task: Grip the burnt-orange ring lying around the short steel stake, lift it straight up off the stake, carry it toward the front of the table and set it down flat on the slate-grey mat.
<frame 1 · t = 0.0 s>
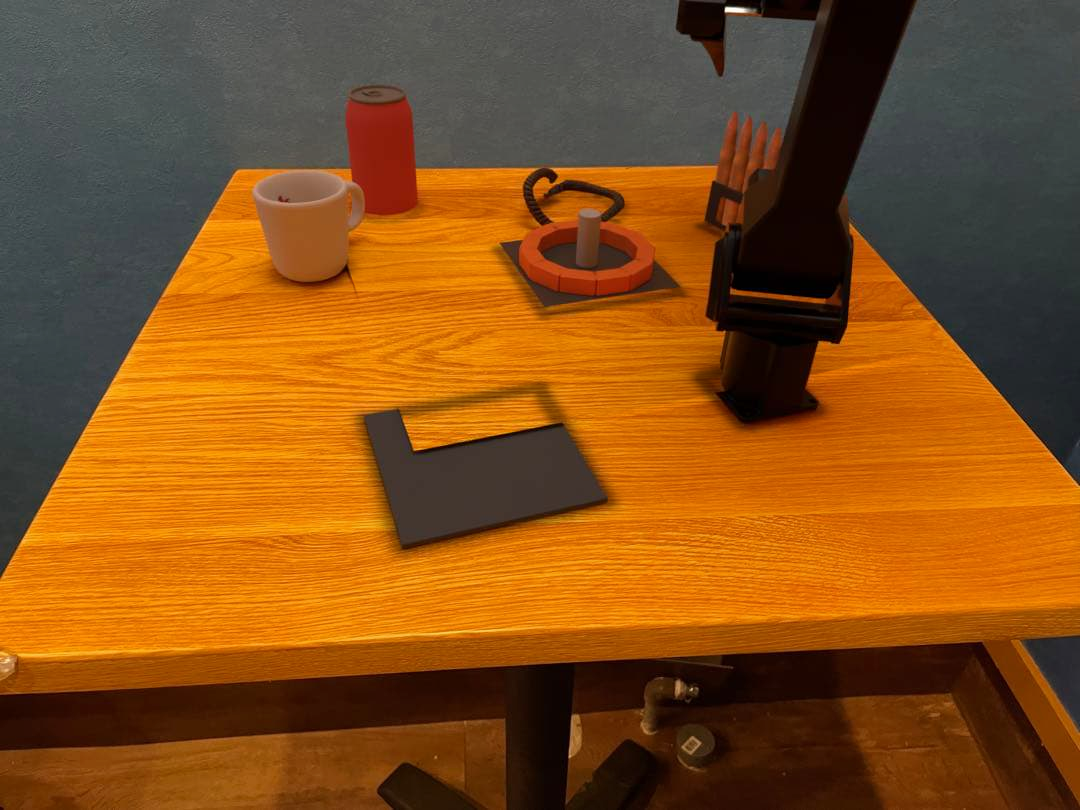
hand: (769, 76, 77), 15 cm above the table, tool tilted 35°, fingers open, 9 cm apart
curled ridged horns: (568, 217, 87), on the table
mat: (479, 458, 54), on the table
ammunition clip: (747, 245, 83), on the table
stake: (585, 271, 76), on the table
beer can: (387, 210, 87), on the table
cup: (324, 266, 76), on the table
ring: (586, 263, 76), point 1 cm above the table, touching stake
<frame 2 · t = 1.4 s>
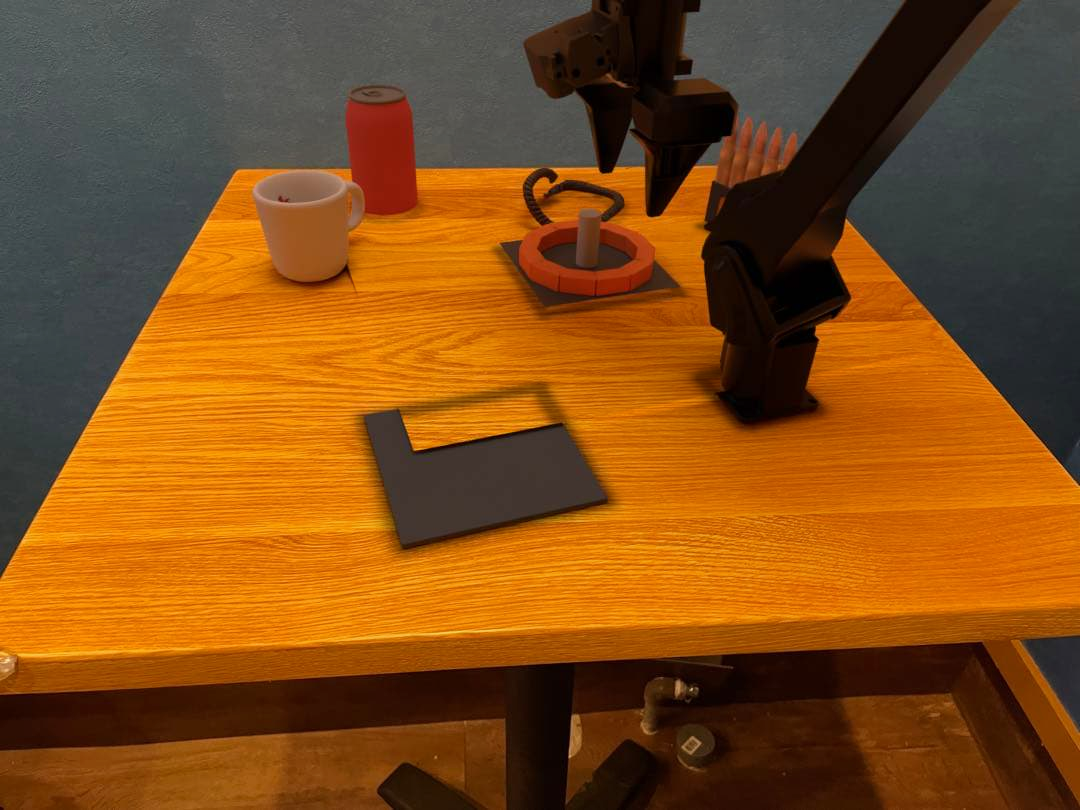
hand: (628, 193, 65), 10 cm above the table, tool pointing down, fingers open, 9 cm apart
nothing on the table moved.
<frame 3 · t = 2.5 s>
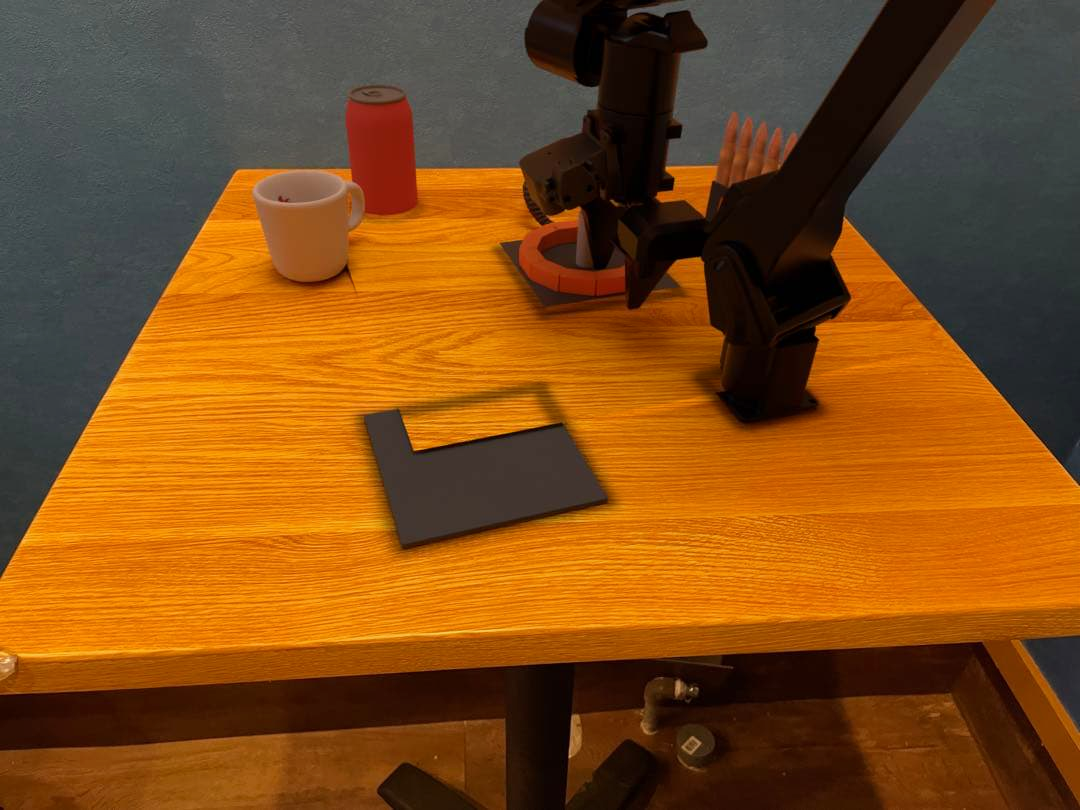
hand: (615, 288, 70), 2 cm above the table, tool pointing down, fingers open, 7 cm apart
nothing on the table moved.
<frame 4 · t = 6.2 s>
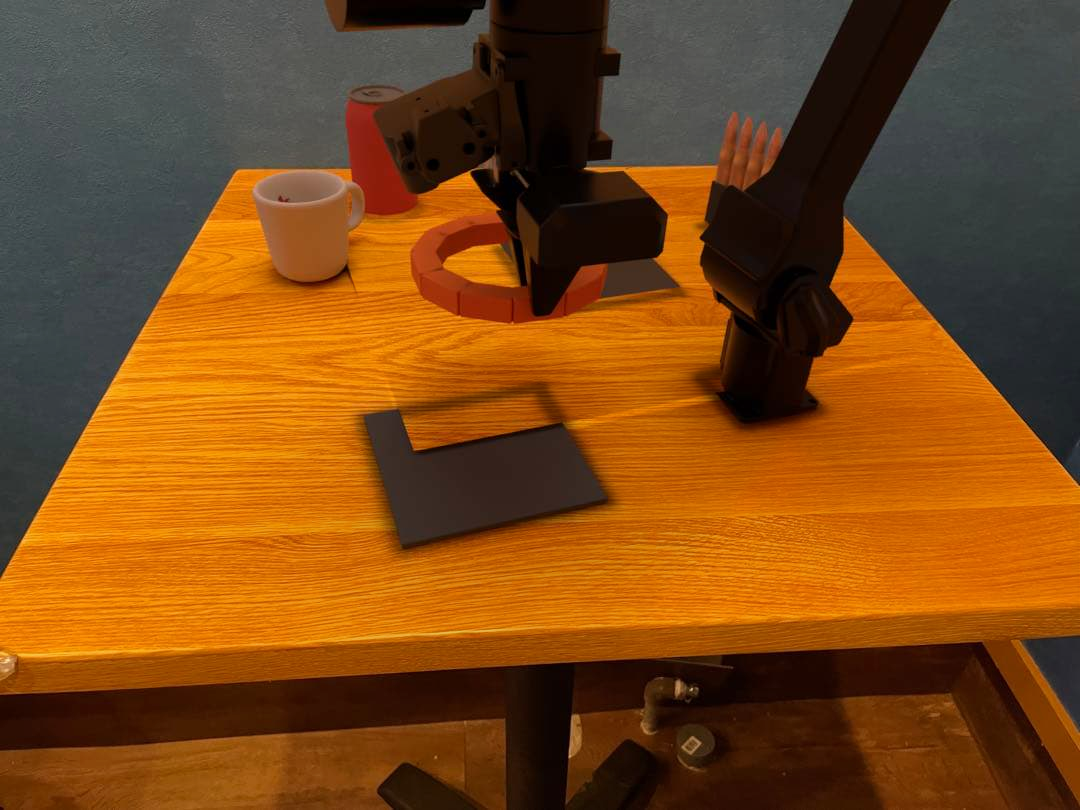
hand: (536, 306, 48), 11 cm above the table, tool pointing down, fingers closed on ring
ring: (509, 274, 53), point 11 cm above the table, touching gripper
everything else where it was.
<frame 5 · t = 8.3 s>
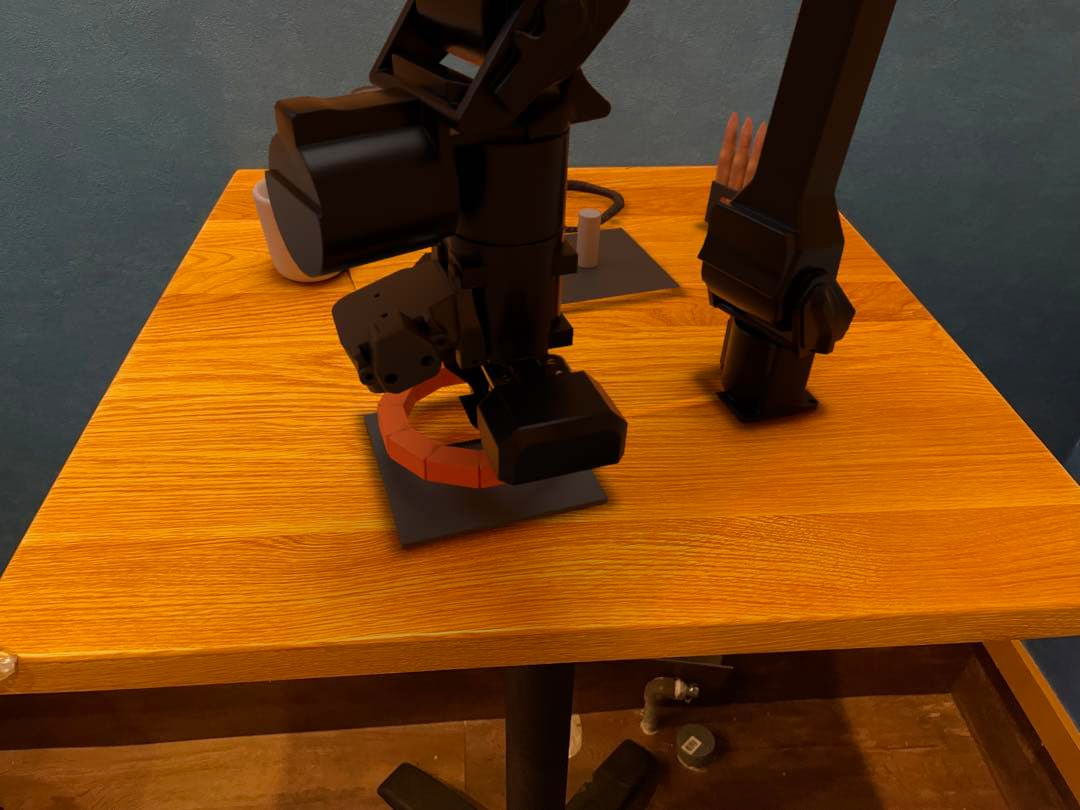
hand: (504, 468, 48), 4 cm above the table, tool pointing down, fingers closed on ring, 2 cm apart
ring: (478, 422, 53), point 3 cm above the table, touching gripper
everything else where it was.
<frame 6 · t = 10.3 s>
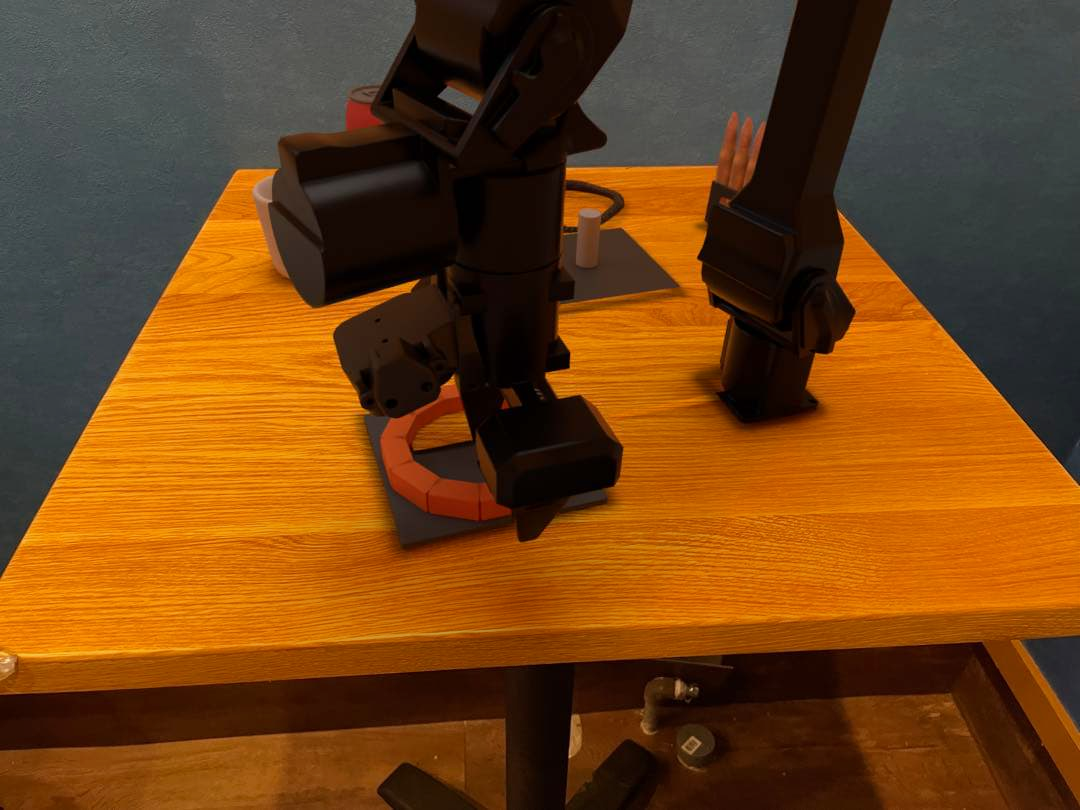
hand: (502, 486, 49), 2 cm above the table, tool pointing down, fingers open, 9 cm apart
ring: (478, 454, 54), resting on mat
everything else where it was.
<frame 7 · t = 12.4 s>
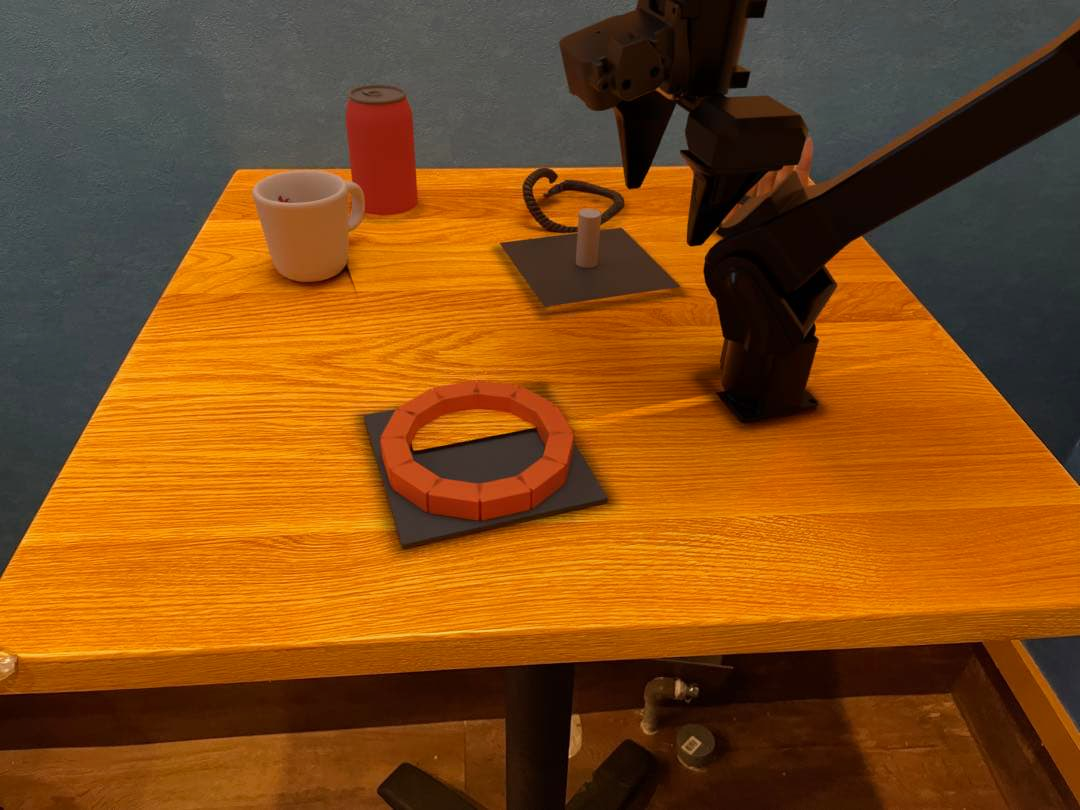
hand: (661, 214, 58), 12 cm above the table, tool pointing down, fingers open, 9 cm apart
nothing on the table moved.
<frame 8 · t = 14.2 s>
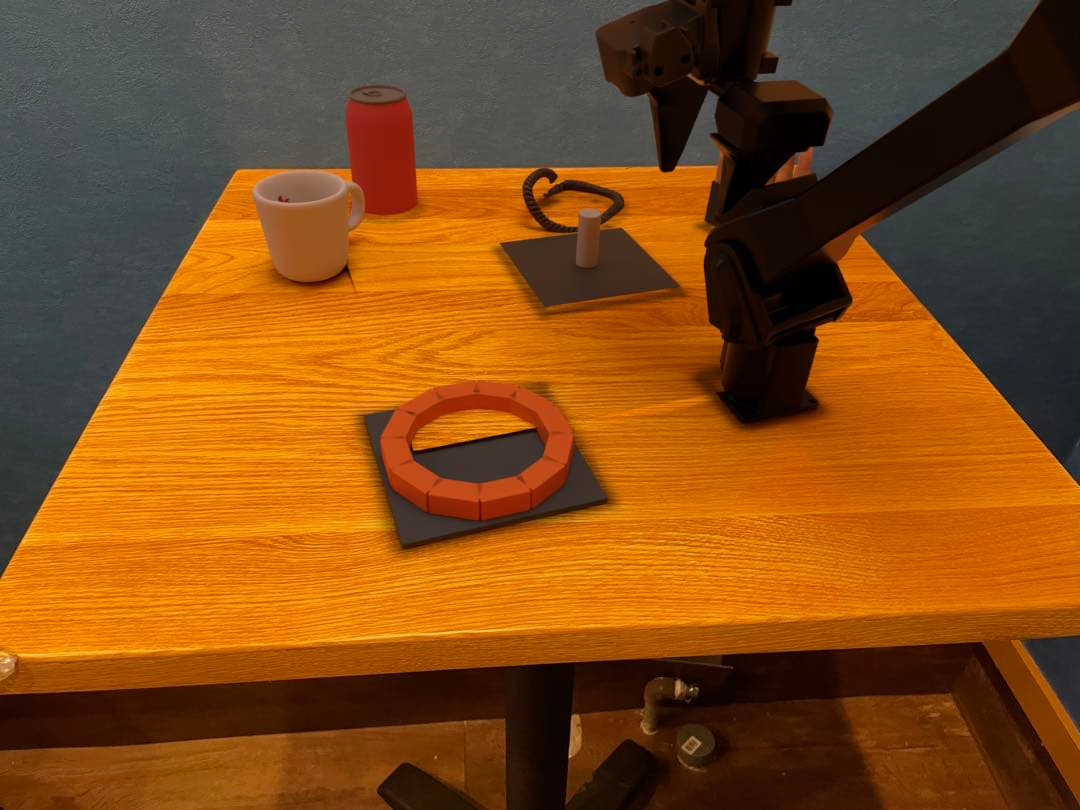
hand: (693, 196, 61), 12 cm above the table, tool pointing down, fingers open, 9 cm apart
nothing on the table moved.
at the end: ring inside the target area on the mat (0.1 cm from its centre), point 0.4 cm above the mat's base; ring touching mat; ring tilted 0° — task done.
